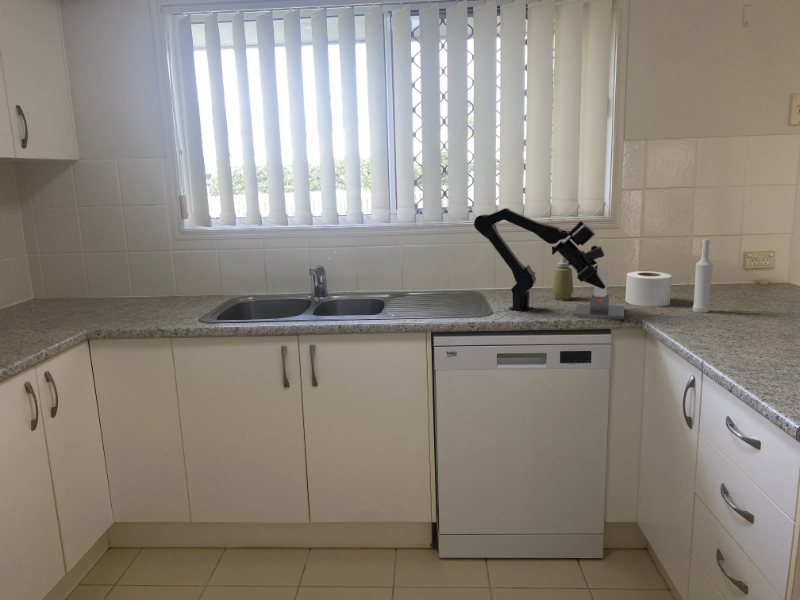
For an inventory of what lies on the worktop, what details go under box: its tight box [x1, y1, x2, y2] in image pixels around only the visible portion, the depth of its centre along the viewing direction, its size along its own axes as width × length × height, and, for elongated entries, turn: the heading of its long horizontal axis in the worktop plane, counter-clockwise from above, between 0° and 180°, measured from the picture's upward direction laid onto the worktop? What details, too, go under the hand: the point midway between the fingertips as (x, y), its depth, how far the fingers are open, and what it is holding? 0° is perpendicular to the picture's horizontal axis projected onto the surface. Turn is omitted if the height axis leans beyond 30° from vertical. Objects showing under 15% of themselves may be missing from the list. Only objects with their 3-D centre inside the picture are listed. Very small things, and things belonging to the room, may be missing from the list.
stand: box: [573, 293, 625, 320], centre depth 202 cm, size 16×16×6 cm
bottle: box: [692, 238, 714, 314], centre depth 199 cm, size 5×5×25 cm
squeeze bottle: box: [551, 255, 574, 301], centre depth 226 cm, size 8×8×18 cm
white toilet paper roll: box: [625, 270, 673, 308], centre depth 217 cm, size 16×15×11 cm
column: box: [593, 271, 608, 298], centre depth 201 cm, size 4×4×11 cm
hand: (604, 287), depth 201 cm, fingers closed on column, 4 cm apart
